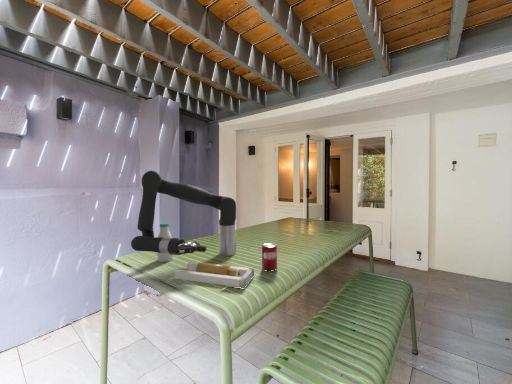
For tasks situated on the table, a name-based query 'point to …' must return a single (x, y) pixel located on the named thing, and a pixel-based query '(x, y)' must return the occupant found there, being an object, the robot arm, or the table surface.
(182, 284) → the table surface
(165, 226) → the milk bottle
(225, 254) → the robot arm
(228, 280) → the white trough
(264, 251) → the soda can
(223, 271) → the amber bottle
